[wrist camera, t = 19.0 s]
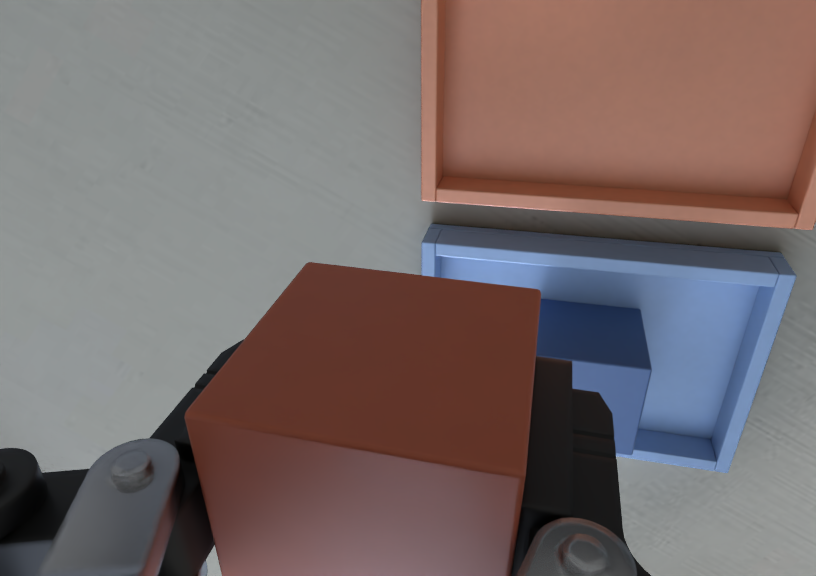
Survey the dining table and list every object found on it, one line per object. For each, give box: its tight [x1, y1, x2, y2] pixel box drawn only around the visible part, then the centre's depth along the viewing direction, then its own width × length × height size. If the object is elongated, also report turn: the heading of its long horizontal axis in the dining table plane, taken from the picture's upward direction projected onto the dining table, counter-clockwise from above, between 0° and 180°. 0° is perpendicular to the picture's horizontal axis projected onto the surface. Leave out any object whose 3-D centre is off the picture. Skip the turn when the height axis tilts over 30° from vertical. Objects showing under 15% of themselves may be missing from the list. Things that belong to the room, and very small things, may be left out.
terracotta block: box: [184, 262, 541, 576], centre depth 10 cm, size 4×4×4 cm
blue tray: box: [422, 224, 796, 473], centre depth 27 cm, size 14×10×2 cm
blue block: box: [536, 299, 652, 455], centre depth 26 cm, size 4×4×4 cm
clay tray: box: [421, 0, 816, 230], centre depth 21 cm, size 14×10×2 cm
